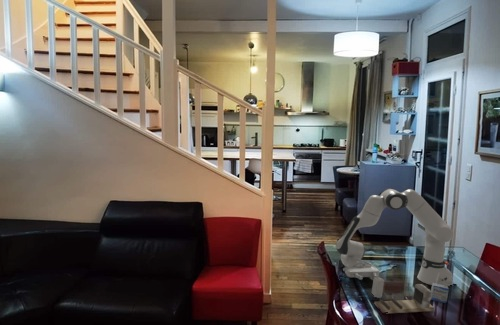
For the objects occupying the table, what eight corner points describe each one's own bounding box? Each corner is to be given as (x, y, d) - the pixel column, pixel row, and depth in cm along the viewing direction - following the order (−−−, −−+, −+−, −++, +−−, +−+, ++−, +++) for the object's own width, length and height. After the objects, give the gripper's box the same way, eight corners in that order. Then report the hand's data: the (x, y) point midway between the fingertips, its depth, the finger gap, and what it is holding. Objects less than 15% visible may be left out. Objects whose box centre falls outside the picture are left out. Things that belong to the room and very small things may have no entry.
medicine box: (430, 300, 203) (433, 285, 202) (429, 296, 207) (432, 282, 206) (446, 303, 200) (449, 289, 199) (445, 299, 204) (447, 285, 203)
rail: (423, 302, 199) (426, 283, 197) (433, 310, 192) (436, 291, 190) (373, 305, 193) (376, 285, 191) (382, 313, 185) (385, 293, 183)
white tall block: (378, 293, 205) (380, 277, 204) (382, 297, 201) (384, 280, 200) (371, 294, 204) (373, 277, 203) (375, 297, 200) (377, 280, 199)
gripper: (342, 263, 222) (353, 273, 208) (372, 262, 226) (385, 272, 213) (340, 272, 223) (351, 283, 209) (371, 271, 227) (383, 282, 214)
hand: (368, 278), depth 211 cm, fingers open, 8 cm apart
